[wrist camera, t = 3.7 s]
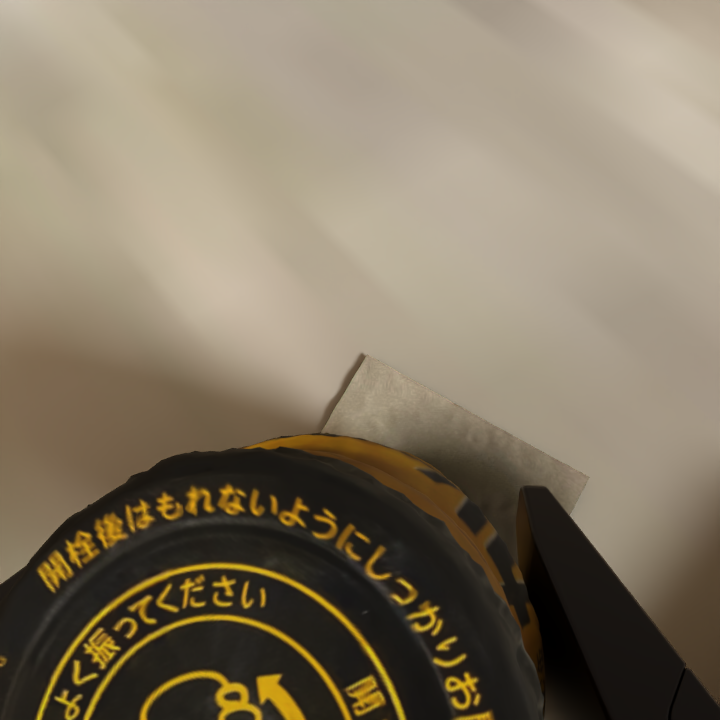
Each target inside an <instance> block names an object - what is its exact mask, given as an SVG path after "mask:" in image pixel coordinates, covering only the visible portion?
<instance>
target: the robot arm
mask: <svg viewBox="0 0 720 720" xmlns="http://www.w3.org/2000/svg"><path fill="white" fill-rule="evenodd" d="M516 538H517V552H518V566H519V569H520V571H521V573H522V576H523V580H524V583H525V585H526V588H527V591H528V597H529V600H530V602H531V604H532V606H533V608H534V610H535V613H536V615H537V618H538V621H539V626H540V628H539V631H540V634H541V637H542V646H543V654H544V668H545V701H546V702H545V714H544V720H720V706H719V704H718V703H717V702H716V701H715V699H714V698H713V697H712V696H711V695H710V693H709V692H708V691H707V690H706V688H705V687H704V686H703V684H702V683H701V682H700V681H699V679H698V678H697V677H696V675H695V674H694V673H693V672H692V670H691V669H689V668H686V669H685V667H686V663H685V662H684V660H683V659H682V658H681V657H680V655H679V654H678V653H677V652H676V650H675V649H674V648H673V646H672V645H671V644H670V643H669V641H668V640H667V639H666V638H665V636H664V635H663V634H662V632H661V631H660V630H659V629H658V627H657V626H656V625H655V624H654V622H653V621H652V620H651V618H650V617H649V616H648V615H647V613H646V612H645V611H644V610H643V608H642V607H641V606H640V605H639V603H638V602H637V601H636V599H635V598H634V597H633V596H632V594H631V593H630V592H629V591H628V589H627V588H626V587H625V585H624V584H623V583H622V582H621V580H620V579H619V578H618V577H617V575H616V574H615V573H614V571H613V570H612V569H611V568H610V566H609V565H608V564H607V563H606V561H605V560H604V559H603V557H602V556H601V555H600V554H599V552H598V551H597V550H596V549H595V547H594V546H593V545H592V543H591V542H590V541H589V540H588V538H587V537H586V536H585V535H584V533H583V532H582V531H581V529H580V528H579V527H578V526H577V524H576V523H575V522H574V521H573V519H572V518H571V517H570V516H569V514H568V513H567V512H566V510H565V509H564V508H563V507H562V505H561V504H560V503H559V502H558V500H557V499H556V498H555V496H554V495H553V494H552V493H551V491H550V490H549V489H548V488H547V487H546V486H543V485H523V486H521V488H520V491H519V499H518V507H517V515H516ZM25 567H26V566H25ZM25 567H24V568H23V569H21V570H20V571H18V572H17V573H16V574H14V575H13V576H11V577H10V578H9V579H7V580H6V581H5V582H3V583H2V584H0V601H1V600H2V599H3V597H4V596H5V595H6V594H7V593H8V591H9V590H10V589H11V588H12V586H13V585H14V583H15V582H16V580H17V579H18V578H19V576H20V575H21V573H22V572H23V570H24V569H25Z"/></svg>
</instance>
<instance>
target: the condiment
mask: <svg viewBox="0 0 720 720" xmlns="http://www.w3.org/2000/svg"><path fill="white" fill-rule="evenodd" d="M588 479H589V477H588V476H586V475H584V474H583V473H581V472H579V471H577V470H575V469H573V468H572V467H570V466H568V465H566V464H564V463H562V462H560V461H558V460H556V459H554V458H553V457H551V456H549V455H547V454H546V453H544V452H542V451H540V450H538V449H536V448H534V447H533V446H531V445H529V444H527V443H525V442H524V441H522V440H520V439H518V438H516V437H514V436H512V435H511V434H509V433H507V432H506V431H504V430H502V429H500V428H498V427H496V426H494V425H492V424H490V423H489V422H487V421H485V420H484V419H482V418H480V417H478V416H477V415H475V414H473V413H471V412H469V411H468V410H466V409H464V408H462V407H460V406H458V405H456V404H454V403H452V402H451V401H449V400H448V399H446V398H444V397H442V396H441V395H439V394H437V393H435V392H433V391H431V390H430V389H428V388H426V387H425V386H423V385H421V384H419V383H417V382H415V381H414V380H412V379H410V378H408V377H406V376H404V375H402V374H400V373H399V372H398V371H396V370H394V369H392V368H391V367H389V366H387V365H385V364H383V363H382V362H380V361H378V360H376V359H374V358H373V357H371V356H369V355H367V356H366V357H365V359H364V361H363V362H362V364H361V366H360V368H359V369H358V371H357V372H356V374H355V375H354V377H353V379H352V380H351V382H350V384H349V386H348V387H347V389H346V391H345V393H344V394H343V396H342V398H341V399H340V401H339V402H338V404H337V405H336V407H335V409H334V410H333V412H332V414H331V416H330V418H329V420H328V422H327V423H326V425H325V426H324V428H323V430H322V431H321V433H316V434H306V435H296V436H281V437H278V438H273V439H270V440H266V441H264V442H261V443H258V444H255V445H251V446H246V447H242V448H238V449H236V448H231V449H228V450H225V451H221V452H214V451H209V452H198V451H194V452H191V453H185V454H180V455H175V456H172V457H170V458H167V459H164V460H161V461H160V462H159V463H157V464H156V465H155V466H153V467H152V468H151V469H150V470H148V471H146V472H141V473H138V474H135V475H133V476H131V477H130V478H129V479H128V481H127V482H126V483H125V484H123V485H121V486H119V487H118V488H116V489H115V490H113V491H111V492H110V493H108V494H107V495H105V496H103V497H102V498H100V499H99V500H97V501H96V502H94V503H93V504H91V505H88V506H87V508H85V509H83V510H82V511H80V512H78V513H76V514H74V515H72V516H71V517H69V518H68V519H67V520H66V521H65V522H64V523H63V524H62V525H61V526H60V527H59V528H58V529H57V530H56V531H55V532H54V533H53V534H52V535H51V536H50V538H49V539H48V540H47V541H46V542H45V543H44V544H43V545H42V547H41V548H40V549H39V550H38V551H37V552H36V554H35V555H34V556H33V557H32V558H31V560H30V561H29V563H28V564H27V566H26V567H25V569H24V570H23V572H22V573H21V575H20V576H19V578H18V579H17V580H16V582H15V583H14V585H13V586H12V588H11V589H10V590H9V591H8V593H7V594H6V595H5V596H4V597H3V599H2V600H1V601H0V720H544V714H545V702H546V701H545V668H544V654H543V646H542V637H541V634H540V631H539V628H540V626H539V621H538V618H537V615H536V613H535V610H534V608H533V606H532V604H531V602H530V600H529V597H528V591H527V588H526V585H525V583H524V580H523V576H522V573H521V571H520V569H519V566H518V552H517V538H516V515H517V507H518V499H519V491H520V488H521V486H523V485H543V486H546V487H547V488H548V489H549V490H550V491H551V493H552V494H553V495H554V496H555V498H556V499H557V500H558V502H559V503H560V504H561V505H562V507H563V508H564V509H565V510H566V512H567V513H568V514H569V515H570V513H571V512H572V510H573V508H574V506H575V504H576V502H577V500H578V498H579V496H580V494H581V492H582V491H583V489H584V487H585V485H586V483H587V481H588Z"/></svg>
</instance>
